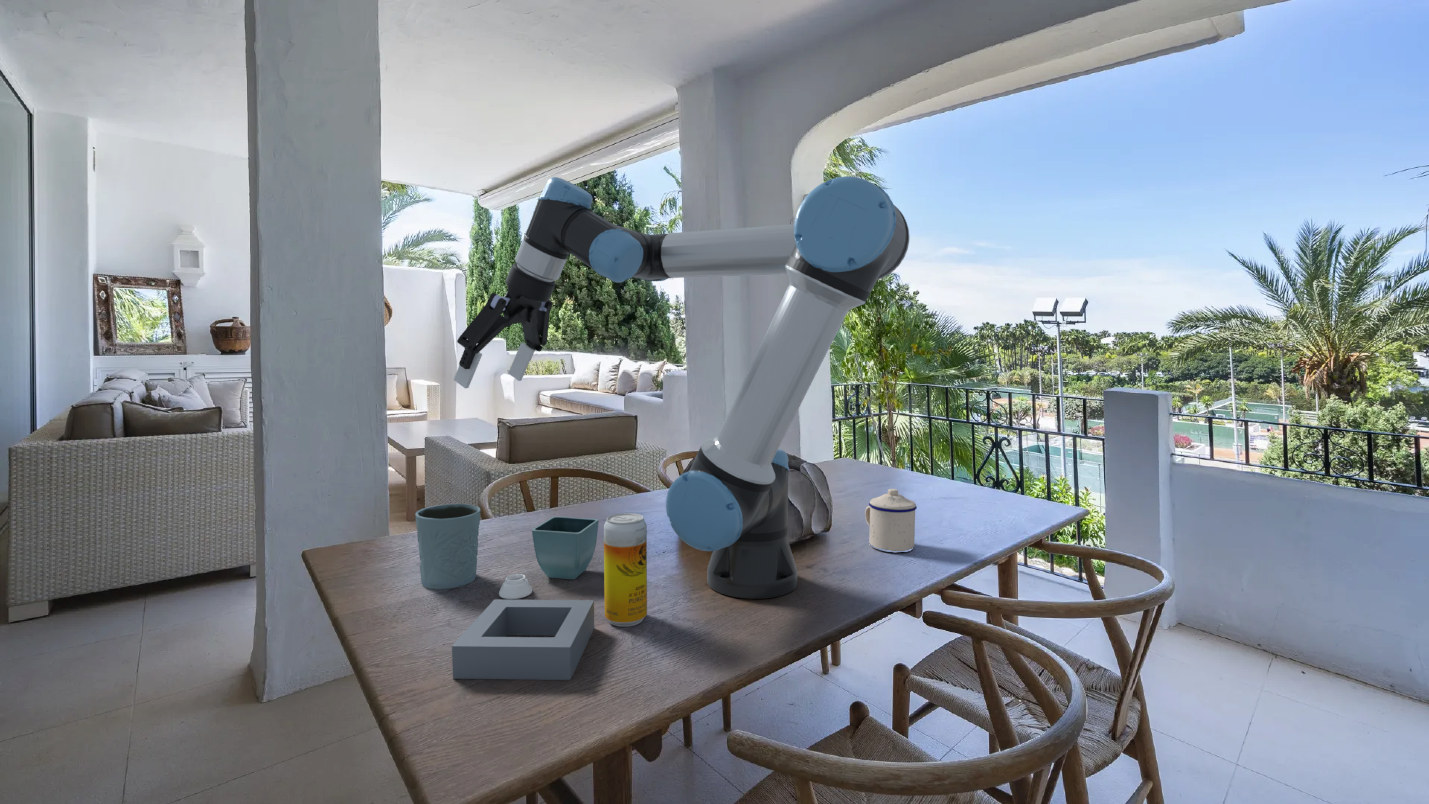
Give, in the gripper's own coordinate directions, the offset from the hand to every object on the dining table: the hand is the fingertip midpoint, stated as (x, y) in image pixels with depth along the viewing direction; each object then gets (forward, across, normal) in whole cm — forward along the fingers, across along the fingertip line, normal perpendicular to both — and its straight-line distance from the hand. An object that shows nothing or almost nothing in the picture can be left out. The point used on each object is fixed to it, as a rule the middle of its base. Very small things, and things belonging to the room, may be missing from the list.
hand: (489, 380), depth 111 cm
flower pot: (+22, 0, +30) cm, 37 cm away
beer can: (+12, +12, +45) cm, 48 cm away
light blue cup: (+30, +10, +15) cm, 35 cm away
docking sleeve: (+14, +26, +39) cm, 49 cm away
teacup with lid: (-2, -38, +74) cm, 83 cm away
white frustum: (+23, +11, +27) cm, 37 cm away
